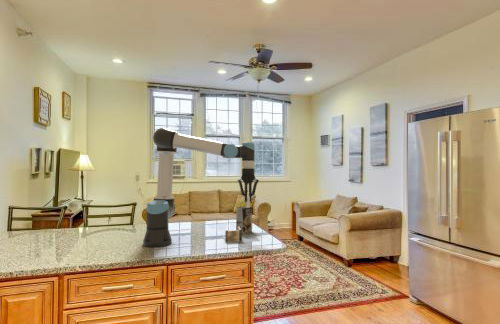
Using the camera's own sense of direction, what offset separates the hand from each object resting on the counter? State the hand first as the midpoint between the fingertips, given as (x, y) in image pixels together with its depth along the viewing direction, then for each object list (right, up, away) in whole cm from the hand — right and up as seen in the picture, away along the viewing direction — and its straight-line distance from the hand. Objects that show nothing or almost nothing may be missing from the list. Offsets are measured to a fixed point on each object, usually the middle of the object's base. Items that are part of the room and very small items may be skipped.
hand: (247, 207), depth 190 cm
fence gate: (-5, -18, -3) cm, 18 cm away
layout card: (-4, -18, -4) cm, 19 cm away
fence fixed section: (-8, -18, -10) cm, 22 cm away
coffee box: (-3, -19, +16) cm, 25 cm away
